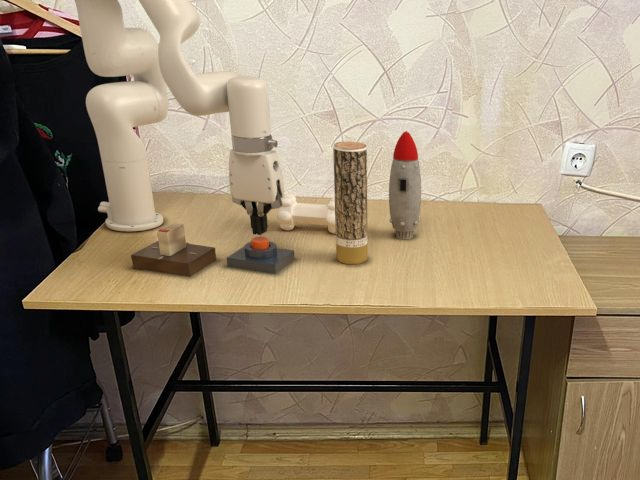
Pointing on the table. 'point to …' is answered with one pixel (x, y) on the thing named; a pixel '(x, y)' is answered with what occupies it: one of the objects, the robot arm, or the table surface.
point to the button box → (261, 258)
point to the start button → (260, 243)
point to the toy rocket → (405, 187)
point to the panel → (174, 259)
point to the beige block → (171, 239)
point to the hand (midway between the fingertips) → (259, 232)
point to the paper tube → (350, 201)
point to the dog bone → (306, 213)
